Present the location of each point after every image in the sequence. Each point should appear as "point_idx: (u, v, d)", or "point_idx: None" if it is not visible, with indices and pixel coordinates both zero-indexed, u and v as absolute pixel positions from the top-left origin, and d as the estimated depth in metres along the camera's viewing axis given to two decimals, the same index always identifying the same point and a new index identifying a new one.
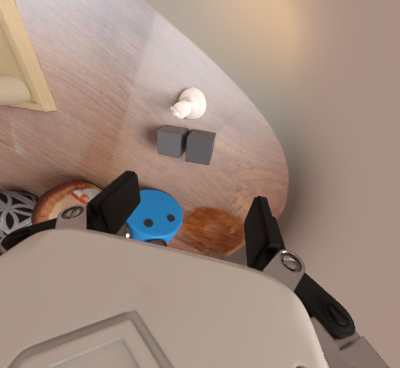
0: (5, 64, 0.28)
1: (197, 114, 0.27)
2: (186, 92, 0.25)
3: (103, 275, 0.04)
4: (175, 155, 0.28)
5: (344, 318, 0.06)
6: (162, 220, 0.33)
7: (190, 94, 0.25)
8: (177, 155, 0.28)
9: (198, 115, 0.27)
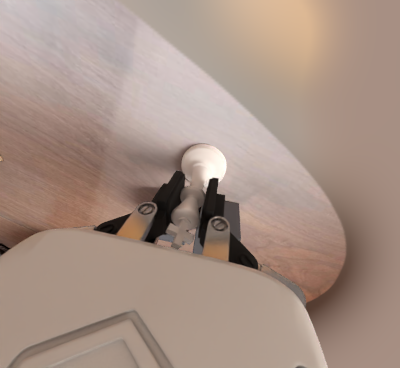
0: None
1: None
2: (195, 152, 0.15)
3: (103, 275, 0.04)
4: None
5: (250, 264, 0.07)
6: None
7: (201, 156, 0.15)
8: None
9: None
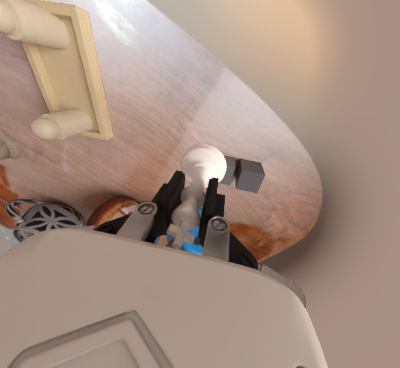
0: (75, 99, 0.31)
1: None
2: (195, 153, 0.15)
3: (103, 275, 0.04)
4: (226, 182, 0.31)
5: (250, 264, 0.07)
6: None
7: (202, 157, 0.15)
8: (227, 183, 0.31)
9: None
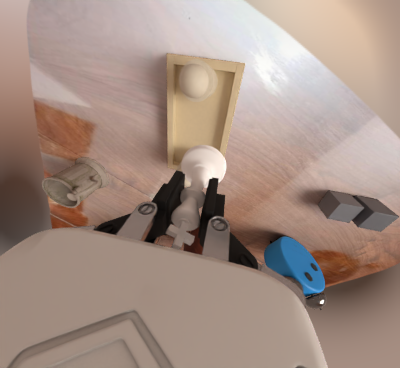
0: (196, 140, 0.31)
1: None
2: (195, 153, 0.15)
3: (103, 275, 0.04)
4: (345, 220, 0.31)
5: (250, 264, 0.07)
6: (311, 271, 0.36)
7: (201, 157, 0.15)
8: (347, 221, 0.31)
9: None
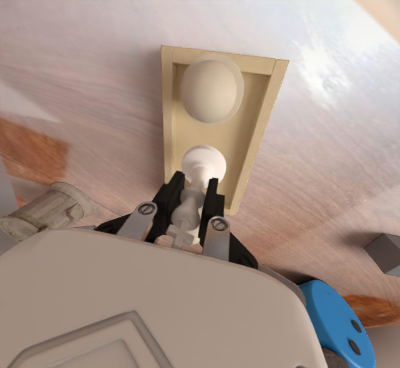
0: None
1: None
2: (195, 153, 0.15)
3: (103, 275, 0.04)
4: None
5: (250, 264, 0.07)
6: (355, 334, 0.27)
7: (201, 157, 0.15)
8: None
9: None
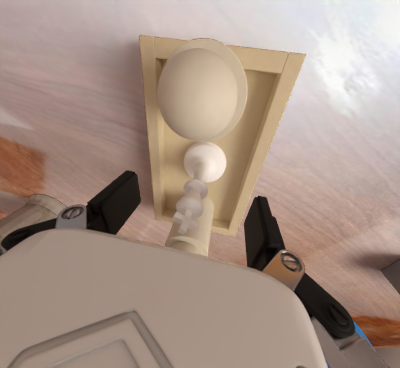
0: None
1: (213, 178, 0.17)
2: (197, 149, 0.16)
3: (103, 275, 0.04)
4: None
5: (344, 319, 0.06)
6: None
7: (203, 153, 0.16)
8: None
9: (214, 179, 0.17)
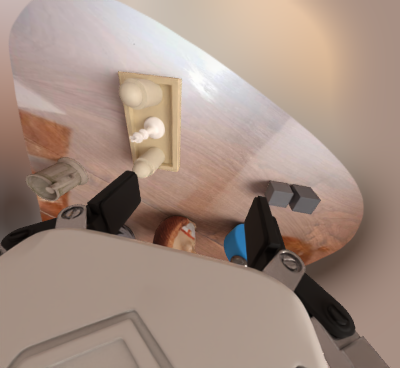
0: (154, 140, 0.37)
1: (158, 135, 0.35)
2: (148, 120, 0.33)
3: (103, 275, 0.04)
4: (282, 206, 0.37)
5: (344, 318, 0.06)
6: None
7: (151, 121, 0.33)
8: (284, 206, 0.37)
9: (159, 136, 0.35)
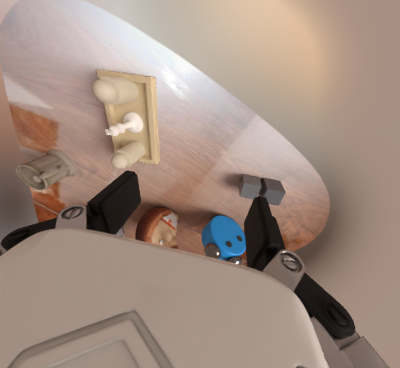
0: (134, 134, 0.39)
1: (137, 130, 0.38)
2: (127, 115, 0.36)
3: (103, 275, 0.04)
4: (253, 197, 0.40)
5: (344, 319, 0.06)
6: (235, 241, 0.44)
7: (129, 116, 0.36)
8: (254, 197, 0.40)
9: (138, 130, 0.38)
